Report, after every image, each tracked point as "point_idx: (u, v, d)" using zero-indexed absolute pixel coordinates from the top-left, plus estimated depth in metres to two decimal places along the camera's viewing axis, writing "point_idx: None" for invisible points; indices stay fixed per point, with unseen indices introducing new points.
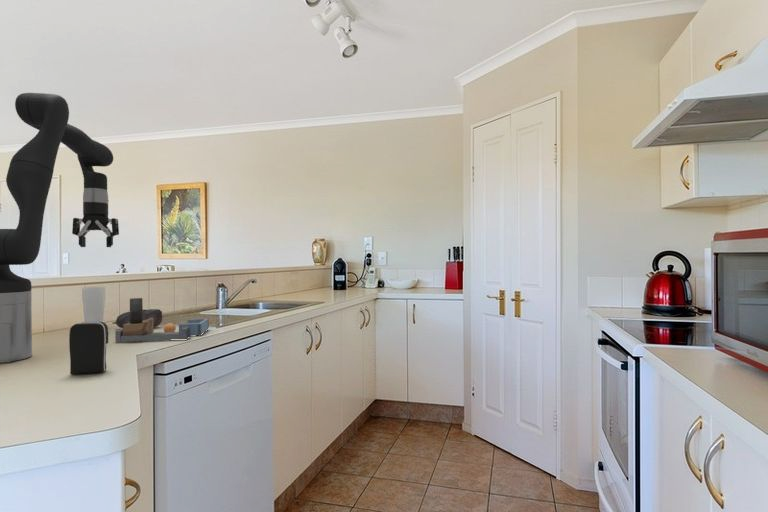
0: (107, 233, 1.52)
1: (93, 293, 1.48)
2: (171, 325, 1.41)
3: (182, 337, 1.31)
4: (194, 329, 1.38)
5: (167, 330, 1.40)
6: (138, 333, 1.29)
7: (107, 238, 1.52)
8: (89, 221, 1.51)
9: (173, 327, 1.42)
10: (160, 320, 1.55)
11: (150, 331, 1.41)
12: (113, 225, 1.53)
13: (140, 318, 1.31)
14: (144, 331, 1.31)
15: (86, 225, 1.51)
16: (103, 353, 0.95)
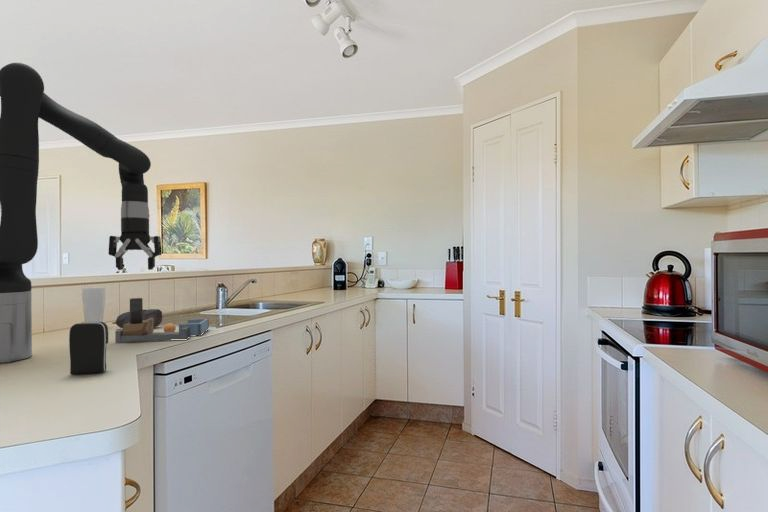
0: (149, 253, 1.31)
1: (93, 293, 1.48)
2: (171, 325, 1.41)
3: (182, 337, 1.31)
4: (194, 329, 1.38)
5: (167, 330, 1.40)
6: (138, 333, 1.29)
7: (149, 259, 1.31)
8: (128, 240, 1.29)
9: (173, 327, 1.42)
10: (160, 320, 1.55)
11: (150, 331, 1.41)
12: (156, 244, 1.31)
13: (140, 318, 1.31)
14: (144, 331, 1.31)
15: (125, 244, 1.29)
16: (103, 353, 0.95)
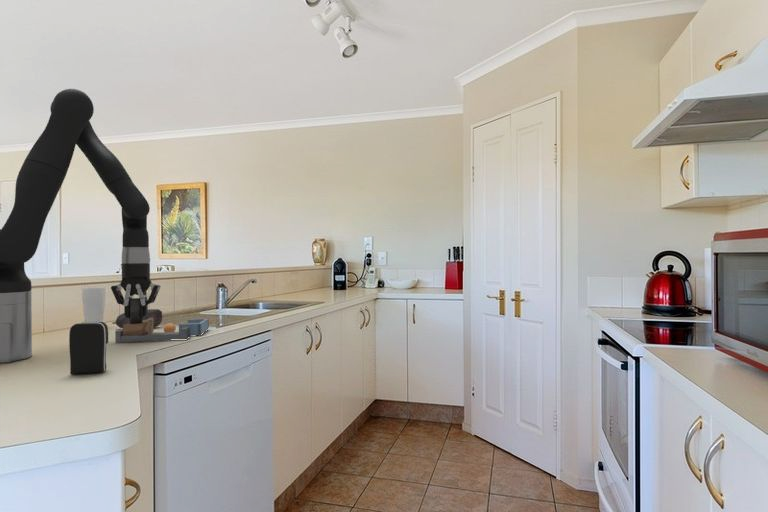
0: (142, 301, 1.30)
1: (93, 293, 1.48)
2: (171, 325, 1.41)
3: (182, 337, 1.31)
4: (194, 329, 1.38)
5: (167, 330, 1.40)
6: (138, 333, 1.29)
7: (141, 308, 1.30)
8: (129, 285, 1.29)
9: (173, 327, 1.42)
10: (160, 320, 1.55)
11: (150, 331, 1.41)
12: (152, 293, 1.31)
13: (140, 318, 1.31)
14: (144, 331, 1.31)
15: (128, 291, 1.29)
16: (103, 353, 0.95)
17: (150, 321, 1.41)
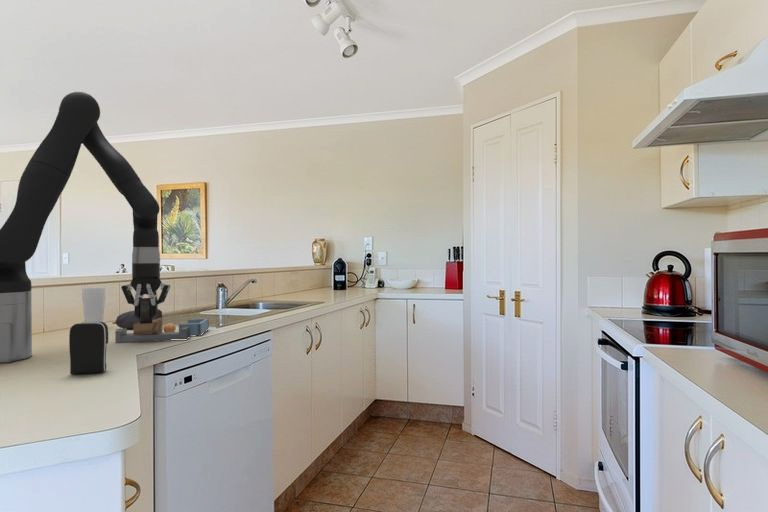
0: (152, 301, 1.31)
1: (93, 293, 1.48)
2: (171, 325, 1.41)
3: (182, 337, 1.31)
4: (194, 329, 1.38)
5: (167, 330, 1.40)
6: (148, 333, 1.29)
7: (151, 307, 1.31)
8: (139, 285, 1.29)
9: (173, 327, 1.42)
10: None
11: (159, 331, 1.41)
12: (163, 293, 1.31)
13: (150, 318, 1.31)
14: (154, 331, 1.32)
15: (138, 291, 1.30)
16: (103, 353, 0.95)
17: (159, 321, 1.42)
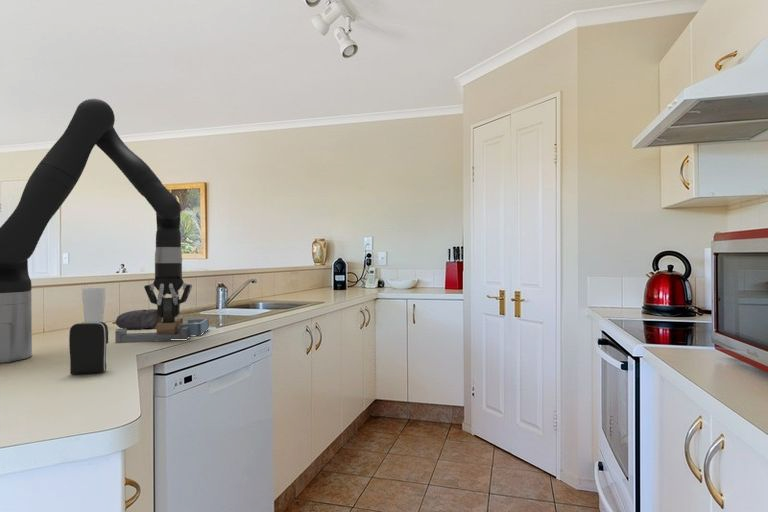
0: (175, 301, 1.32)
1: (93, 293, 1.48)
2: None
3: (182, 337, 1.31)
4: (194, 329, 1.38)
5: None
6: (171, 332, 1.30)
7: (174, 307, 1.32)
8: (162, 285, 1.31)
9: None
10: (160, 320, 1.55)
11: None
12: (185, 292, 1.32)
13: (173, 317, 1.32)
14: (176, 330, 1.33)
15: (161, 290, 1.31)
16: (103, 353, 0.95)
17: (180, 320, 1.43)
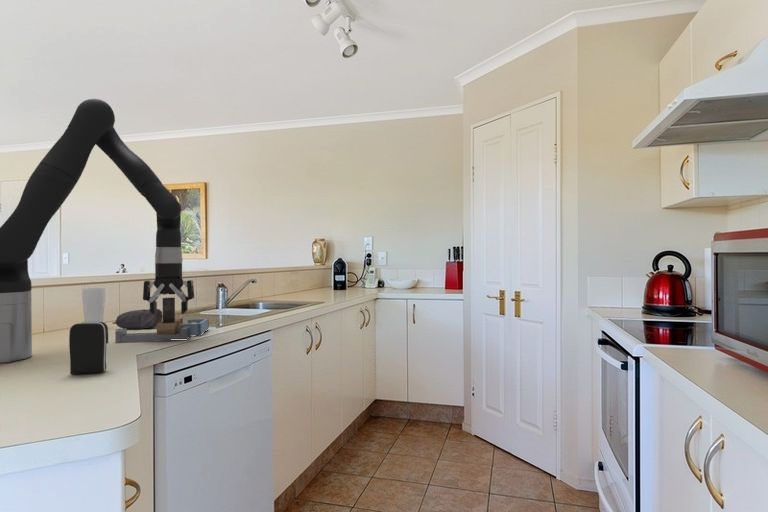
0: (182, 298, 1.32)
1: (93, 293, 1.48)
2: None
3: (182, 337, 1.31)
4: (194, 329, 1.38)
5: None
6: (171, 332, 1.30)
7: (182, 303, 1.32)
8: (162, 285, 1.31)
9: None
10: (160, 320, 1.55)
11: None
12: (189, 288, 1.32)
13: (173, 317, 1.32)
14: (176, 330, 1.33)
15: (159, 289, 1.31)
16: (103, 353, 0.95)
17: (180, 320, 1.43)
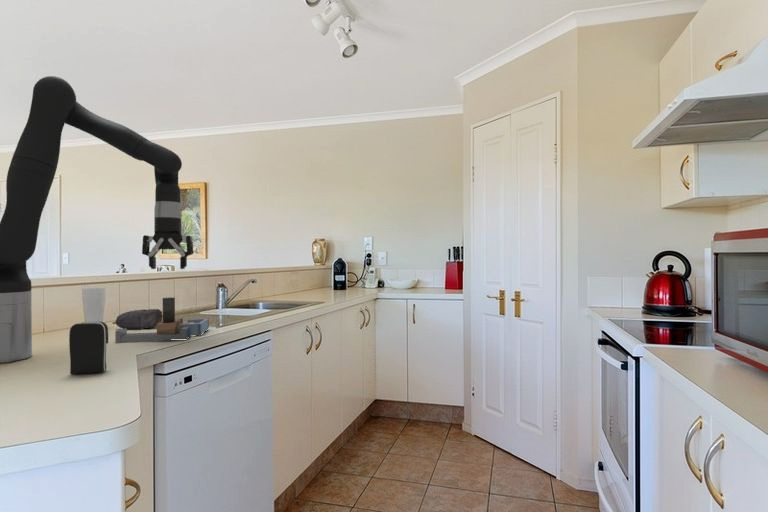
0: (181, 253, 1.32)
1: (93, 293, 1.48)
2: None
3: (182, 337, 1.31)
4: (194, 329, 1.38)
5: None
6: (171, 332, 1.30)
7: (181, 258, 1.32)
8: (161, 239, 1.31)
9: None
10: (160, 320, 1.55)
11: None
12: (188, 243, 1.33)
13: (173, 317, 1.32)
14: (176, 330, 1.33)
15: (158, 244, 1.31)
16: (103, 353, 0.95)
17: (180, 320, 1.43)
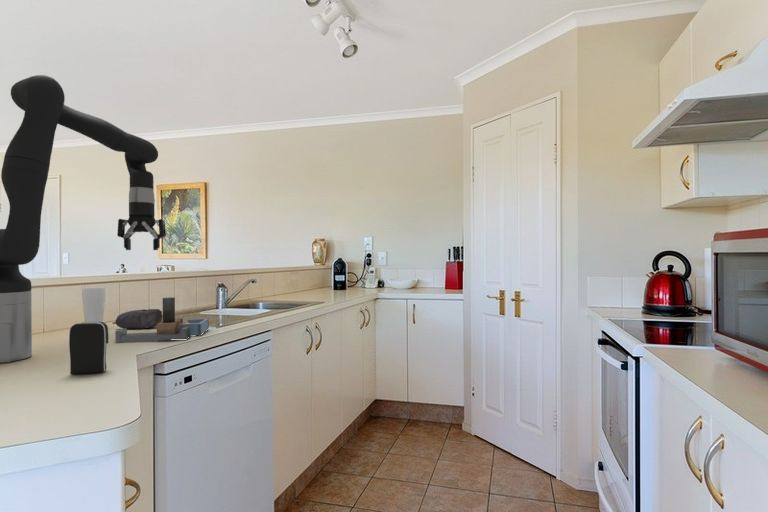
0: (154, 235, 1.43)
1: (93, 293, 1.48)
2: None
3: (182, 337, 1.31)
4: (194, 329, 1.38)
5: None
6: (171, 332, 1.30)
7: (154, 240, 1.43)
8: (135, 223, 1.41)
9: None
10: (160, 320, 1.55)
11: None
12: (160, 227, 1.43)
13: (173, 317, 1.32)
14: (176, 330, 1.33)
15: (132, 227, 1.41)
16: (103, 353, 0.95)
17: (180, 320, 1.43)
